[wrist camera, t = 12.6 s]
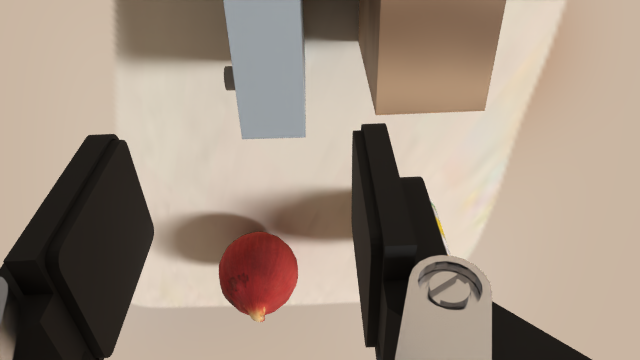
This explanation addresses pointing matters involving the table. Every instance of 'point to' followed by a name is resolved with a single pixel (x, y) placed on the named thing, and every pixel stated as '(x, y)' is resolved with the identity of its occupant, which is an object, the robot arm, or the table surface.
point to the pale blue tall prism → (267, 66)
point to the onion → (258, 274)
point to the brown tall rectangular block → (429, 53)
